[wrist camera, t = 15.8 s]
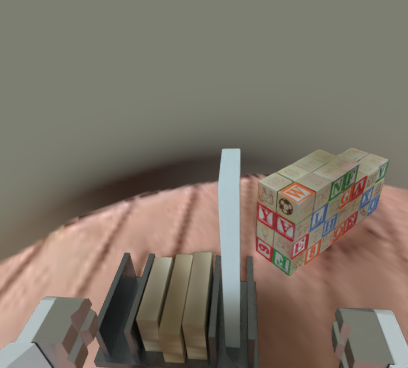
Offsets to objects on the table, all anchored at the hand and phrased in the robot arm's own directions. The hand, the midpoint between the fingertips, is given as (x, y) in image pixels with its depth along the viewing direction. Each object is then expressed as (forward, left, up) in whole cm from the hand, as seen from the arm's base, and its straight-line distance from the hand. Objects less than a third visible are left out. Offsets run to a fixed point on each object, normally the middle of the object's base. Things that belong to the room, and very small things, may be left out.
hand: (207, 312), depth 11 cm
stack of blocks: (-18, -29, -25) cm, 42 cm away
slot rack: (+3, -16, -24) cm, 29 cm away
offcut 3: (+1, -15, -23) cm, 28 cm away
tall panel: (-3, -15, -23) cm, 28 cm away
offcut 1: (+5, -16, -23) cm, 29 cm away
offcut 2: (+3, -16, -23) cm, 28 cm away
